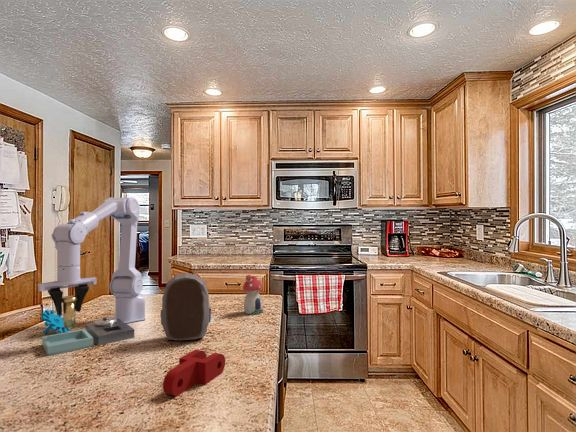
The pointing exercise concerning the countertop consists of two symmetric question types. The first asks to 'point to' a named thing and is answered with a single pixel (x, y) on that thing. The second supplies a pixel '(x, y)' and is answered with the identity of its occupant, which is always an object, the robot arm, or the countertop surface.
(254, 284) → the decorative ornament
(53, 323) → the gear
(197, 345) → the countertop surface
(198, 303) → the small grey backpack
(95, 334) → the grey flat block
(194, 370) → the mechanical linkage
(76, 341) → the pin tray
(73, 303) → the pin
